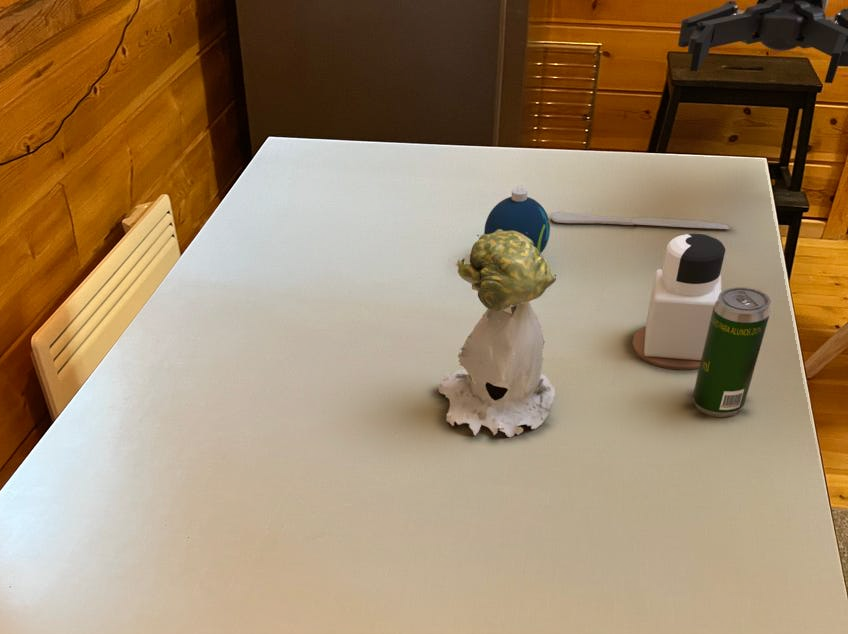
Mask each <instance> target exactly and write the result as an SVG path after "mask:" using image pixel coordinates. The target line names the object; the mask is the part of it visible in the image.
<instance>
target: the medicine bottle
mask: <svg viewBox="0 0 848 634" xmlns="http://www.w3.org/2000/svg"><path fill="white" fill-rule="evenodd" d="M726 251H727V250H726V247H725V245H724V243H723V242H721V241H720V240H719V239H717V238H715V237H713V236H711V235H708V234H705V233H704V234H703V233H686V234H682V235H681V234H680V235H678V236H676V237H673V238H672V239H671V240H670V241H669V242H668V243H667V246H666V251H665V256H664V261H663V266H662V269H661V268H658V269H657V270H656V271H655V273H654V279H653V283H652V289H651V294H650V300H649V305H648V311H647V317H646V322H645V327H646V331H645V346H644V355H645V356H647V357H660V358H673V359H686V360H699V361H701V358H702V354H703V350H704V345H705V341H706V337H707V333H708V328H709V324H710V320H711V315H712V311H713V307H714V304H715V302H716V301H717V300H718V297H719V294H720V293H721V292H722V291H723V290H722V274H721V272H722V267H723V263H724V259H725V255H726Z"/></svg>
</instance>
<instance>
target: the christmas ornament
mask: <svg viewBox="0 0 848 634" xmlns="http://www.w3.org/2000/svg"><path fill="white" fill-rule="evenodd" d="M520 186H521V187H520ZM498 229H501V230H503V231H517V232H519V233H521V234H523V235H524V236H526V237H528V238H529V239H531V240H532V241H533V243H534V247H536V248H537V250H538V251H539V253H540V254H541V255H542V253H543V252H544V250H545V249H546V247H547V245H548V243H549V239H550V234H551V233H550V232H551V223H550V219H549V216H548V213H547V211H546V210H545V208H544V207H543V206H542V204H541V203H539V202H538V201H537V200H535V199H534V198H532V197H529V196H528V190H527V188H524V187H523V185H522V184H520V185H519V187H516V188H513V189H512V190H511V196H509V197H506V198H504V199H502V200H501V201H499V202H498V203H497V204H496V205H495V206H494V207H493V208H492V209H491V211H490V212H489V214H488V216H487V218H486V221H485V224H484V229H483V234H491V233H494V232H495V231H496V230H498Z"/></svg>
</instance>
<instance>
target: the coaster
mask: <svg viewBox="0 0 848 634" xmlns="http://www.w3.org/2000/svg"><path fill="white" fill-rule="evenodd" d="M645 331H646V326H643V327H642V328H640V329H639V330H638V331H636V333H635V334H634V335H633V338H632V342H631V347H632V349H633V351H634V353H635V354H636V355H637V356H638V357H639V358H640V359H642V360H643V361H645V362H646V363H649V364H651V365H654V366H656V367H660V368H664V369H668V370H677V371H687V370H696V369H699V367H700V362H701V361H699V360H686V359H673V358H660V357H647V356H645V355H644V346H645Z"/></svg>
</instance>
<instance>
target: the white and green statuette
mask: <svg viewBox="0 0 848 634" xmlns="http://www.w3.org/2000/svg"><path fill="white" fill-rule="evenodd" d="M476 236H477V237H479V238H478V240H477V241H475V242H474V243H473V245H472V248H471V251H470V254H469V263H470V264H468V263H466V259H465V258H464V257H463V258H462V259H457V262H456V263H455V264H454V265H455V266H457V274H458V276H460V278H461V279H462V280H463V281H465V282H467V283H469V284H471V290H474V291H476V292H477V297H478V299H479V301H480V302H481V304H482V305H483V307H485V308H486V310H485V312H484V313H483V314H482V316H481V318H480V319H479V320H478V322H476V324H475V325H474V327H473V329H472V331H471V332H470V334H469V335H467V336H466V337H467V338H466V339H465V341H464V344H463V345H462V346H461V348H459V351H458V354H457V358H458V359H459V360H458V362H459V366H460V367H463V368H461V369H458V370H456V371H454V372H446V373H445V374H444V378H443V379H441V381H440V382H439V384H438V392H439V393H440V394H442V395H445V398H447V399H448V400H449V408H448V411H447V413H446V418H445V419H446V422H447V423H449V424H450V425H451V426H453V427H455V423H456V424H457V426H458V425H459V426H460V425H462V424H468V427H469V428H470V430H471V431H472V432H473V433H472V434H473V435H474V436H477V434H478V433H479V432H480V430H481V427H482V426H483V427H486V428H488V429H489V430H490V431H491V432H492V435H493V436H495V435H496V434H498V431H499V432H502V433H505V436H506V437H508V438H511V437H514V436H515V434H516V435H517V436H519V435H520V434H522V433H523V432H524V428H523V427H521V426H523V425H526V426H527V427H530V429H531V430H537V428H539V427H540V426H542V424H543V423H544V422H545V420H546V418H548V415H549V413H550V412H551V411H550V409H551V405H552V404H553V402H554V398H555V395H556V391H555V387H554V385H552V384H551V382H550V380H549V378H548V377H547V376H545V374H544V373H542V372H543V362H544V356H543V355H544V354H543V350H544V345H545V337H544V333H543V332H544V331H543V329H542V328H543V327H542V325H541V322H540V321H539V319H538V315H537V314H536V313H535V311H534V309H533V308H532V306H531V303H530V302H532V301H533V300H536V299H539V298H540V297H542V295H544V293H545V292H546V290H547V289H548V288H550V286H552V285H553V284H554V283H555V282H557V274H555V273H554V272H553V271H552V268H551V266H550V264H549V262H548V260H547V259H546V258H544V257H543V256H542V253H541V254H540V253H539V251H538V250H537V248H536V247H534V243H533V241H532V240H531V239H529V238H528V237H526V236H524V235H523V234H521V233H519V232H517V231H503V230H501V229H498V230H496V231H495V232H494V233H491V234H484V233H483V234H481V235H480V234H477V235H476ZM488 383H489V384H491V385H492V386H494V387H499V388H505V389H507V391H506V392H505V393H504V396H502V397H501V398H499V399H496V400H495V399H493V398H492V397H491V396H490V394H489V392H488V390H487V387H486V384H488Z"/></svg>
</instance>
